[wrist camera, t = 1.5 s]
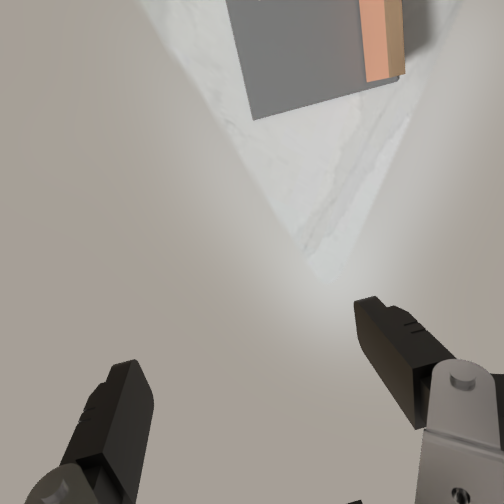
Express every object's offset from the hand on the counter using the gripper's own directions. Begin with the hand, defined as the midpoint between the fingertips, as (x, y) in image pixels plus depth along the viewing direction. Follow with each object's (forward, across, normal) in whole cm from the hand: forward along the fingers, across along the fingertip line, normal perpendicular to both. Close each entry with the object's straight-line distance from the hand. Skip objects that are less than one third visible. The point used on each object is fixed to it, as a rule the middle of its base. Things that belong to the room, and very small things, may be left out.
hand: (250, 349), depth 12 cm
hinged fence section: (+27, -18, -12) cm, 35 cm away
